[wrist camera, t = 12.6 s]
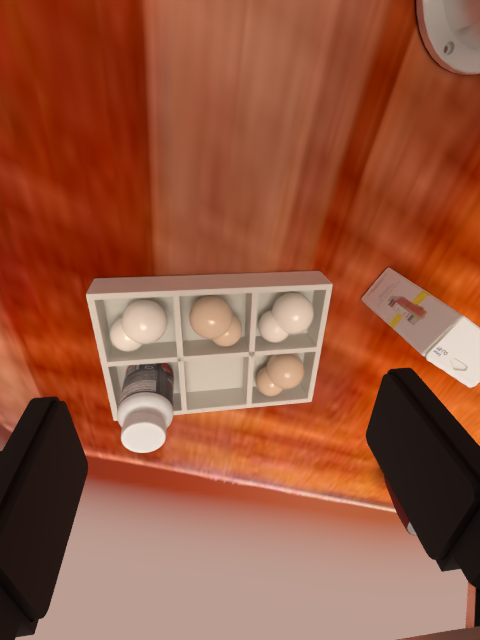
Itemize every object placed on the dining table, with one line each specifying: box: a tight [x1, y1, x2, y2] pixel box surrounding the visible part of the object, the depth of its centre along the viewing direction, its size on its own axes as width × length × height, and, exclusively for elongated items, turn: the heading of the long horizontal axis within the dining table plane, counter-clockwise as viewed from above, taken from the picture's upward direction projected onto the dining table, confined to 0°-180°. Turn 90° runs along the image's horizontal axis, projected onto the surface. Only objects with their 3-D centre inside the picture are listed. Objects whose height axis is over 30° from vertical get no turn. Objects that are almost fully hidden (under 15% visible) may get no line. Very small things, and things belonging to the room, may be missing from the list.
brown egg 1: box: [189, 296, 242, 347], centre depth 35 cm, size 6×4×4 cm
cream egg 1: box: [109, 300, 168, 352], centre depth 33 cm, size 6×4×4 cm
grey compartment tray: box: [86, 271, 333, 421], centre depth 37 cm, size 23×16×4 cm
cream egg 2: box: [258, 292, 314, 343], centre depth 36 cm, size 6×4×4 cm
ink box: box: [361, 267, 480, 388], centre depth 35 cm, size 9×5×12 cm, turn 56°
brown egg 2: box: [255, 353, 304, 396], centre depth 40 cm, size 6×4×4 cm
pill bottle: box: [117, 362, 174, 453], centre depth 35 cm, size 5×5×10 cm
